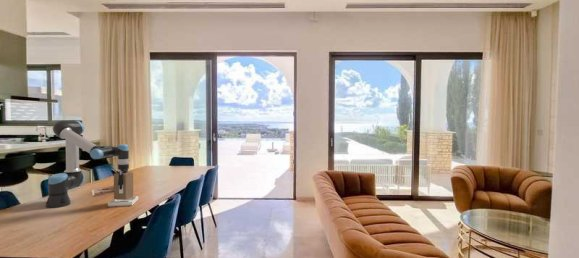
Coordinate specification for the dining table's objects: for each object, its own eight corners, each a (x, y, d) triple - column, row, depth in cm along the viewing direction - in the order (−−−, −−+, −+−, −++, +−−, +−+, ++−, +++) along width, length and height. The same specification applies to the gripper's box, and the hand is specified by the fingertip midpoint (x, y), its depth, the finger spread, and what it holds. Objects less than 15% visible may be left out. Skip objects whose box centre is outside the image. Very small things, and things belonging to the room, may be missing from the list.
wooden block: (133, 196, 246) (133, 171, 245) (125, 199, 236) (125, 174, 236) (122, 195, 247) (121, 171, 246) (113, 199, 237) (113, 173, 236)
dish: (107, 206, 232) (107, 202, 232) (115, 200, 249) (115, 196, 248) (132, 205, 236) (132, 202, 235) (138, 199, 252) (138, 196, 252)
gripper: (123, 166, 230) (124, 195, 231) (133, 161, 253) (133, 187, 254) (112, 166, 228) (113, 195, 229) (123, 161, 251) (123, 187, 252)
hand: (123, 191), depth 242 cm, fingers closed on wooden block, 11 cm apart
